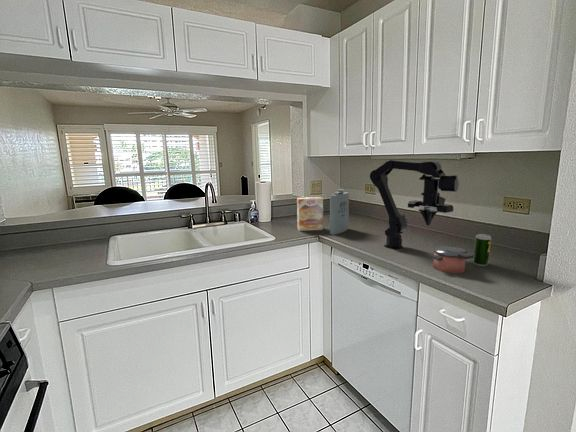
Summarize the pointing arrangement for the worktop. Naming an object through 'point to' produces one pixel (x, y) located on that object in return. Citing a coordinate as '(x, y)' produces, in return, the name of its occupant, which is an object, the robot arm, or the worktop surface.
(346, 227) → the flask
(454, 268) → the cooker pot
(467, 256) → the cooker lid
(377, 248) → the worktop surface
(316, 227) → the coffeecake box
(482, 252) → the beer can
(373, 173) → the robot arm
